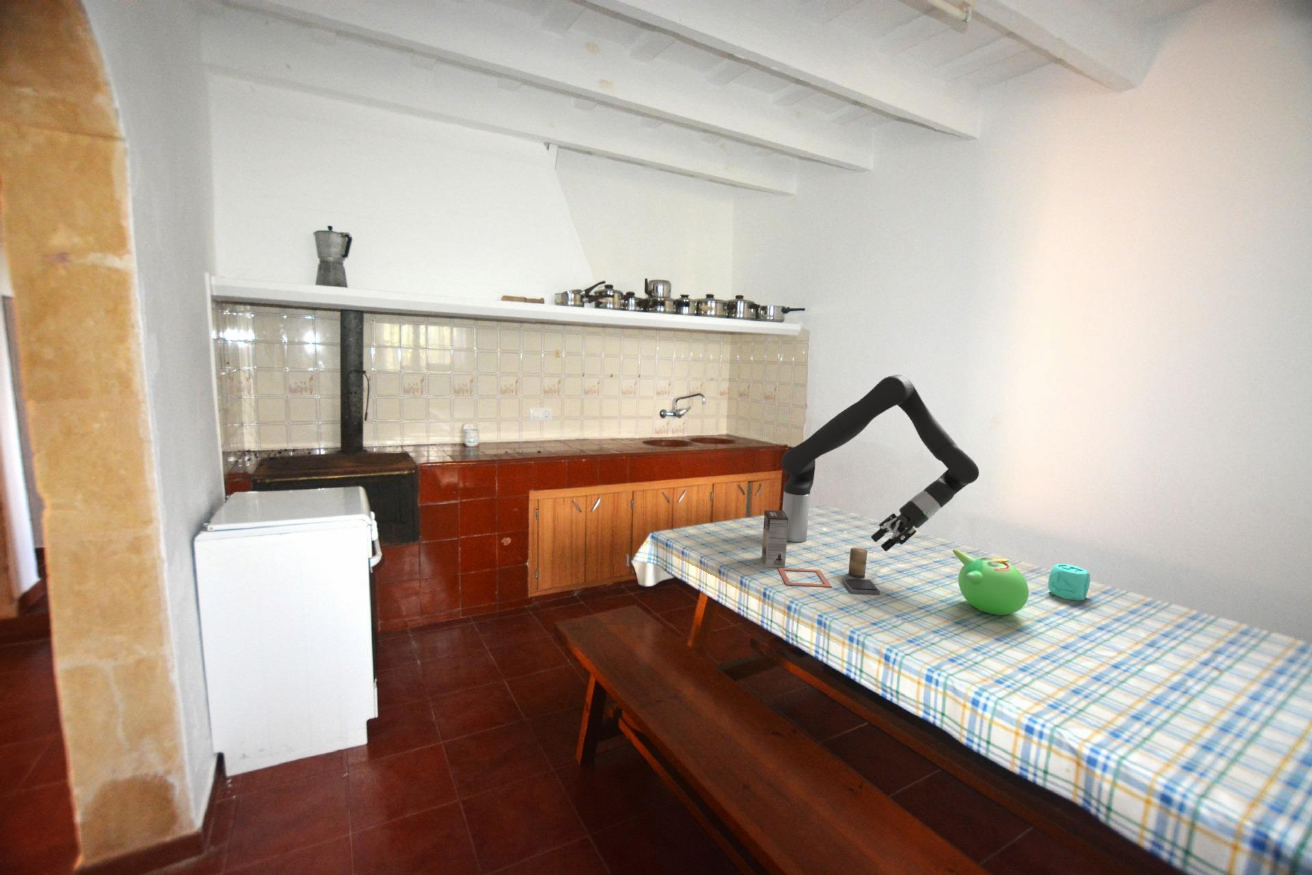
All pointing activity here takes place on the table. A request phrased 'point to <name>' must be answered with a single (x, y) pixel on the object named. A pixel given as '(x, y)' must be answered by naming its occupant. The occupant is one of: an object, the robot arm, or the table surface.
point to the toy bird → (992, 584)
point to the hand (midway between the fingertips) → (877, 544)
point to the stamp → (857, 562)
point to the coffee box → (774, 538)
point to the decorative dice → (1069, 582)
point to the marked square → (787, 582)
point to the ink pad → (861, 586)
